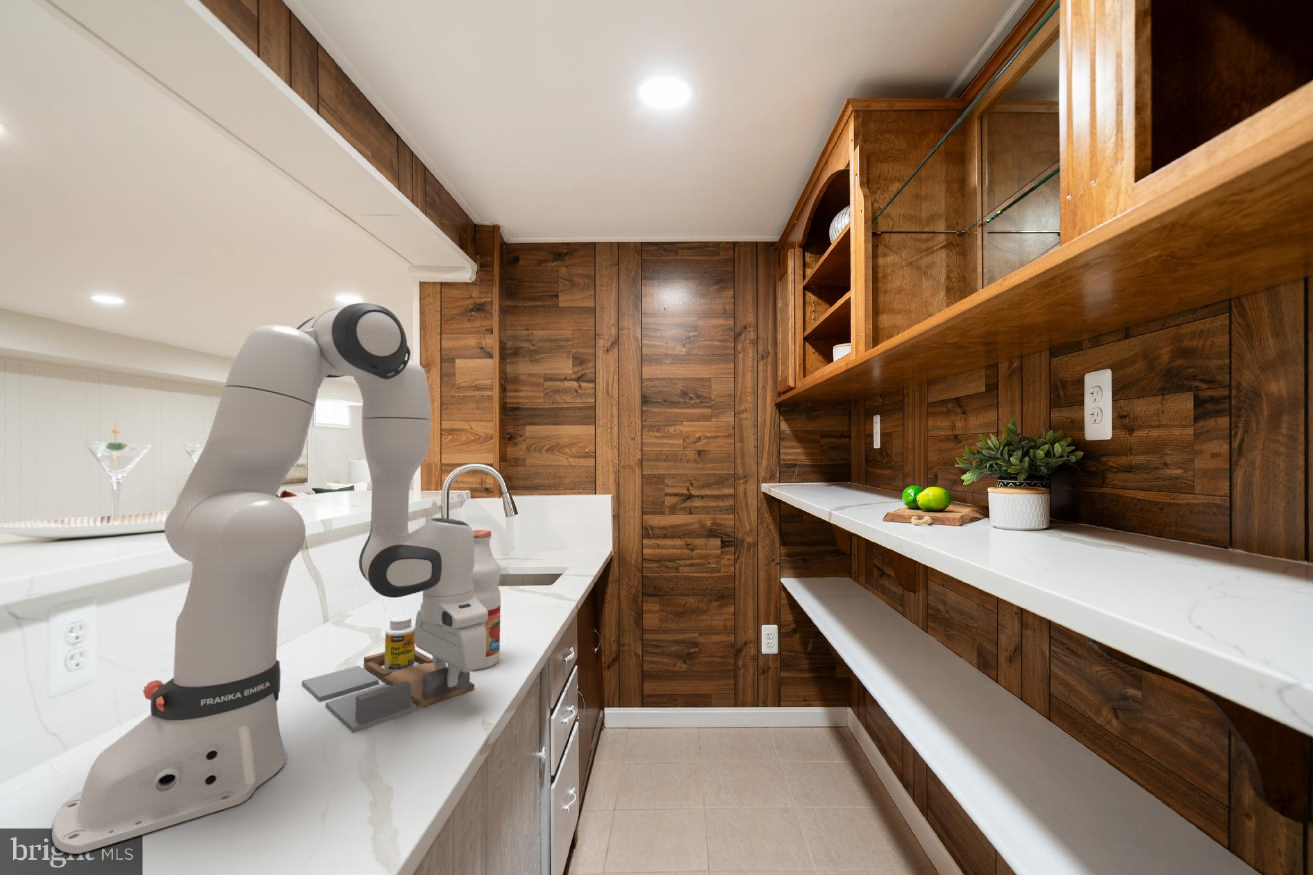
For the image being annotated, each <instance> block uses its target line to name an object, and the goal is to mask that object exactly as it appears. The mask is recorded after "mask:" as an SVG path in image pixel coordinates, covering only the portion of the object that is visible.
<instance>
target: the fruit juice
mask: <svg viewBox="0 0 1313 875" xmlns="http://www.w3.org/2000/svg"><path fill="white" fill-rule="evenodd" d="M472 531H473V536H474V550H475V565H474V569H473V572H472V581H473V584H474V595H475V596H476V597H477V599H478V601H479V602H480V603H481V604H482V605H483V606H484V607H485V608H486V609H487V611H488V619H487V621H485V622H482V623H483V624H484V625H485V628H486V657H485V662H484V664H483V666H482V667H481V668H479V669H477V670H476V671H478V670H479V671H480V670H483V669H487V668H490V667H493V666H495V665H496V664H497V663H498V662H499V659H500V656H501V655H500V649H501V644H500V643H501V608H502V607H501V606H502V604H501V602H502V600H501V599H502V598H501V590H500V588H499V581H500V578H501V566H500V564H499V562H498V561H497V560H496V558H495V557H494V556H493V553H492V548H491V546H490V545H491V544H490V543H491V542H490V540H491V539H492V531H491V530H487V529H476V530H472Z"/></svg>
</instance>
